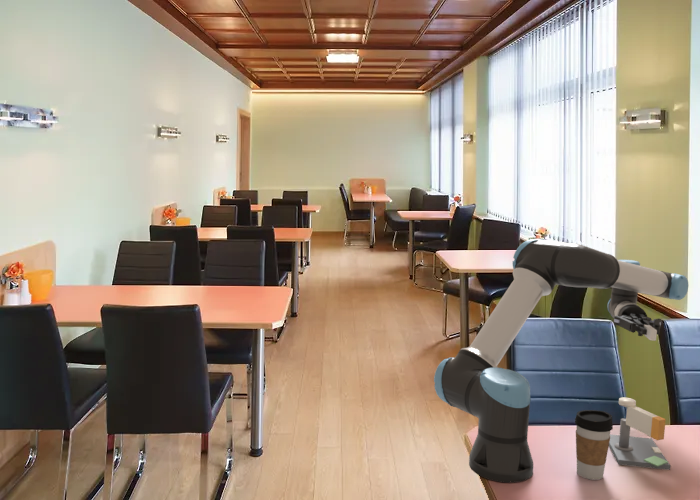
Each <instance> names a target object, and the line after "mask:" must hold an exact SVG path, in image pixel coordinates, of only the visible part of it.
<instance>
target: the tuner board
mask: <svg viewBox="0 0 700 500" xmlns="http://www.w3.org/2000/svg"><path fill="white" fill-rule="evenodd" d="M619 435H620V434H611V433H610V442H609V447H608V449H610V451H611V453H612V455H613V457H614V459H615V461H616V463H617V464H618V465H620V466H627V467H628V466H629V467H640V468H648V469H649V468H650V469H657V470H658V469H659V470H667V471H669V470H670V471H671V464H670V462H669V461H668V460H667V457H665V455H664V453H663V452H662V450H660V448H659V447H658V445H657V444H656V443H655V440H654V439H653V438H651V437H642V436H641V437H640V436H632V435H630V438H629V447H628V448H622V447H620V446H619Z"/></svg>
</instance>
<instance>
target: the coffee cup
mask: <svg viewBox="0 0 700 500" xmlns="http://www.w3.org/2000/svg"><path fill="white" fill-rule="evenodd" d="M575 415H576V416H575V418H574V423H575V425H576V430H575V444H576V445H575V448H576V449H575V450H576V451H575V453H576V474H577V475H579V476H580V477H581V478H583V479H587V480H591V481H598V480H602V479H603V477H604V473H605V468H606V462H607V457H608V450H609V442H610V434H611V431H613V426H614V424H613V415H612V414H610V413H609V412H607V411H603V410H598V409H597V410H596V409H583V410H579V411H577V412H576V414H575Z"/></svg>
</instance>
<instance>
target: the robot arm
mask: <svg viewBox="0 0 700 500" xmlns="http://www.w3.org/2000/svg"><path fill="white" fill-rule="evenodd" d="M513 259H514V260H512V269H513V270H512V276H513V281H512V282H511V283H510V285H509V286H508V288H507V289H506V290H505V292H504V294H503V295H502V297H501V298H500V299H499V302H498V303H497V304H496V306H495V308H494V309H493V311H492V312H491V313H490V315H489V316H488V318H487V320H486V321H485V323H484V324H483V325H482V327H481V328H480V330H479V332H478V333H477V335H476V336H475V338H474V339H473V341H472V342H471V344H470V345H469V346H468V347H462V348H460V350H459V351H458V353H456V355H455V357H448V358H444V359H443V360H442V361H440V363H439V364H438V365H437V367H436V370H435V372H434V377H433V382H434V390H435V393H436V395H437V397H438V398H439V399H441V401H443V402H444V403H446V404H448V406H450V407H453V408H457V409H458V410H461V411H463V412H465V413H467V414H469V415H471V416H474V417H476V418H478V425H477V435H476V437H475V440H474V443H473V445H472V448H471V450H470V453H469V456H468V466H469V468H470V469H471V471H473V473H474V474H476V475H478V476H480V477H482V478H484V479H487V480H490V481H493V482H497V483H498V482H499V483H509V484H510V483H520V482H525V481H527V480H528V479H530V478H532V476H533V474H534V461H533V457H532V453H531V449H530V446H529V443H528V432H529V420H530V408H531V407H530V406H531V400H532V399H531V386H530V382H529V381H528V378H526V377H525V376H524V375H522V374H521V373H519V372H516V371H514V370H512V369H508V368H503V367H498V365H499V363H500V362H501V361H502V359H503V358H504V356H505V354H506V353H507V351H508V350H509V348H510V346H511V345H512V344H513V341H514V340H515V339H516V337H517V336H518V334H519V332H520V331H521V329H522V328H523V326H524V325H525V323H526V321H527V320H528V319H529V317H530V316H531V314H532V312H533V310H534V309H535V308H536V306H537V304H538V303H539V301H540V299H541V298H542V297H544V296H549V295H550V294H551V293H552V292H553V290H554V288H555V287H556V286H557V285H558V286H565V287H571V288H572V287H573V288H591V289H592V288H593V289H599V290H606V289H610V288H611V293H610V298H609V300H608V302H607V311H608V312H609V315H610V316H611V317H612V318H613V325H614V326H617V327H621V328H623V329H625V330H626V331H627V332H630V333H632V334H633V333H636V332H637V336H639V337H643V335H644V337H645V338H646V339H648V340H649V341H655V342H656V341H657V335H660V331H661V330H660V329H661V325H662V318H653V319H652V318H651V317H649V316H648V315H647V313H646V311H645V309H644V308H642V307H640V305H638V296H639V295H638V294H642V295H643V294H644V295H648V296H653V297H659V298H664V299H668V300H676V301H680V300H683V299H684V298H685V297H686V295H687V294H688V292H689V280H688V277H686V275H684V274H683V275H682V274H679V273H676V272H675V273H672V272H667V271H663V270H660V269H659V270H658V269H655V268H651V267H647V266H643V265H641V263H640V261H638V260H633V259H617V258H616V257H615V256H613V255H612V254H610V253H606V252H603V251H600V250H597V249H595V248H591V247H588V246H586V245H582V244H579V243H574V242H564V241H557V240H555V241H554V240H549V239H544V238H532V239H527V240H525V241H524V242H522V243H521V244H520V245H519V246H518V247H517V249H516V250H515V252H514V254H513Z"/></svg>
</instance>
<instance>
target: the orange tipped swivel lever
mask: <svg viewBox="0 0 700 500" xmlns="http://www.w3.org/2000/svg"><path fill="white" fill-rule="evenodd" d="M618 404H619V406H622V407H623V408H624V407H625V408H626V416H625V418H620V422H619V423H620V424H619V425H620V426H619V434H618V435H619V446H620V447H622V448H628V447H629V438H630V436H631V435H630V434H631V428H632V429H634V430H636V431H638V432H640V433H642V434H644V435H646V436H648V437H649V438H652V440H654V441H655V440H656V441H662V440H664V439H665V431H666V418H664V417H661V416H659V415H656V414H655V413H652V412H650V411H648V410H645V409H643V408H641V407H639V406H637V405H636V404H637V400H636V399H633V398H631V397H623V396H622V397H619V398H618Z"/></svg>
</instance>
